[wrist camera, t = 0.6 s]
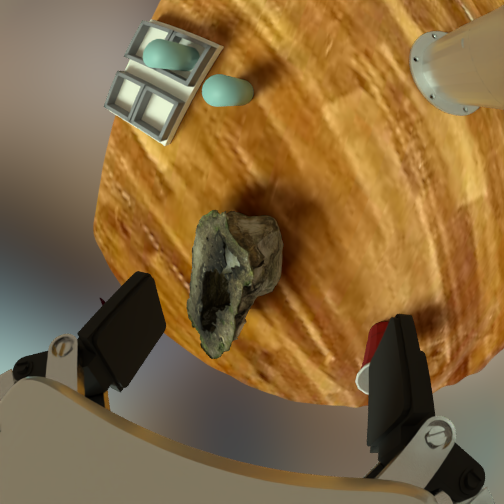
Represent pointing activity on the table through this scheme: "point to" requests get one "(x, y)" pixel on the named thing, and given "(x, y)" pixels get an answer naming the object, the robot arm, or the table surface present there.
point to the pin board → (160, 78)
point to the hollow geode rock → (230, 274)
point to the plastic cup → (370, 355)
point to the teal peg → (227, 91)
